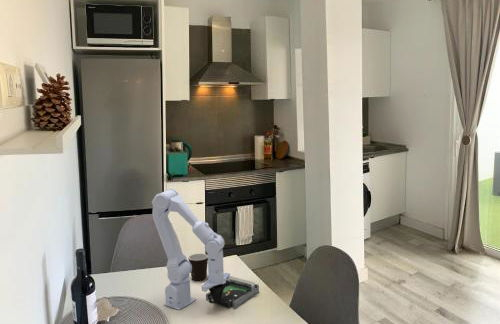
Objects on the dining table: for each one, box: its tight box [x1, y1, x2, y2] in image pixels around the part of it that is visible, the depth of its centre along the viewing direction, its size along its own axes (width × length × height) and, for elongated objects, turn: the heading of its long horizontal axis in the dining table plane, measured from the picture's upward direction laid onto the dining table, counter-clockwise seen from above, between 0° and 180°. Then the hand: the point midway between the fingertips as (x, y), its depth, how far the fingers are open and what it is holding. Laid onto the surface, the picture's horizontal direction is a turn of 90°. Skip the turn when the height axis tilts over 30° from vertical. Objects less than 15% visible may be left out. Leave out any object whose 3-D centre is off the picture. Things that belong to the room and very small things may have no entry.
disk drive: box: [208, 284, 250, 309], centre depth 163 cm, size 10×3×15 cm
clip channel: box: [205, 275, 260, 310], centre depth 164 cm, size 16×14×5 cm
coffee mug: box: [187, 253, 208, 282], centre depth 183 cm, size 12×9×10 cm
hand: (217, 302), depth 156 cm, fingers closed
